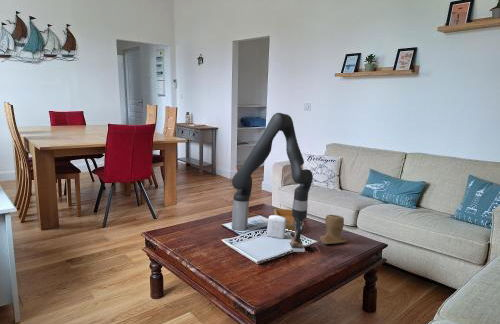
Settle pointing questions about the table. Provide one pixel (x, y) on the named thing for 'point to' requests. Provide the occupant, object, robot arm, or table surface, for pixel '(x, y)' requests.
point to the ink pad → (296, 248)
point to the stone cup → (333, 230)
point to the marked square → (317, 248)
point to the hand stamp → (296, 242)
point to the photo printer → (276, 226)
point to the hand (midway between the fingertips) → (297, 239)
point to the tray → (288, 215)
